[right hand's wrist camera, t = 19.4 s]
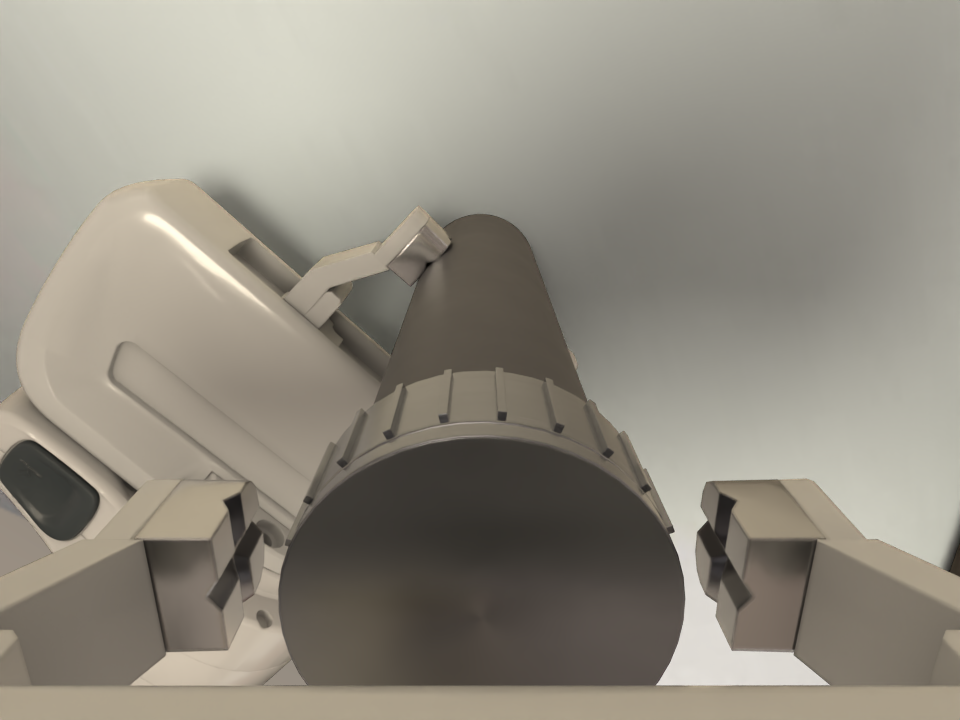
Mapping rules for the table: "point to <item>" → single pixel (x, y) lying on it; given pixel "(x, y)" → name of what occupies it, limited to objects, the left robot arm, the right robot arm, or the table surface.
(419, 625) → the lid
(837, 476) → the table surface
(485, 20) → the table surface
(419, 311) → the dark capped cylinder
